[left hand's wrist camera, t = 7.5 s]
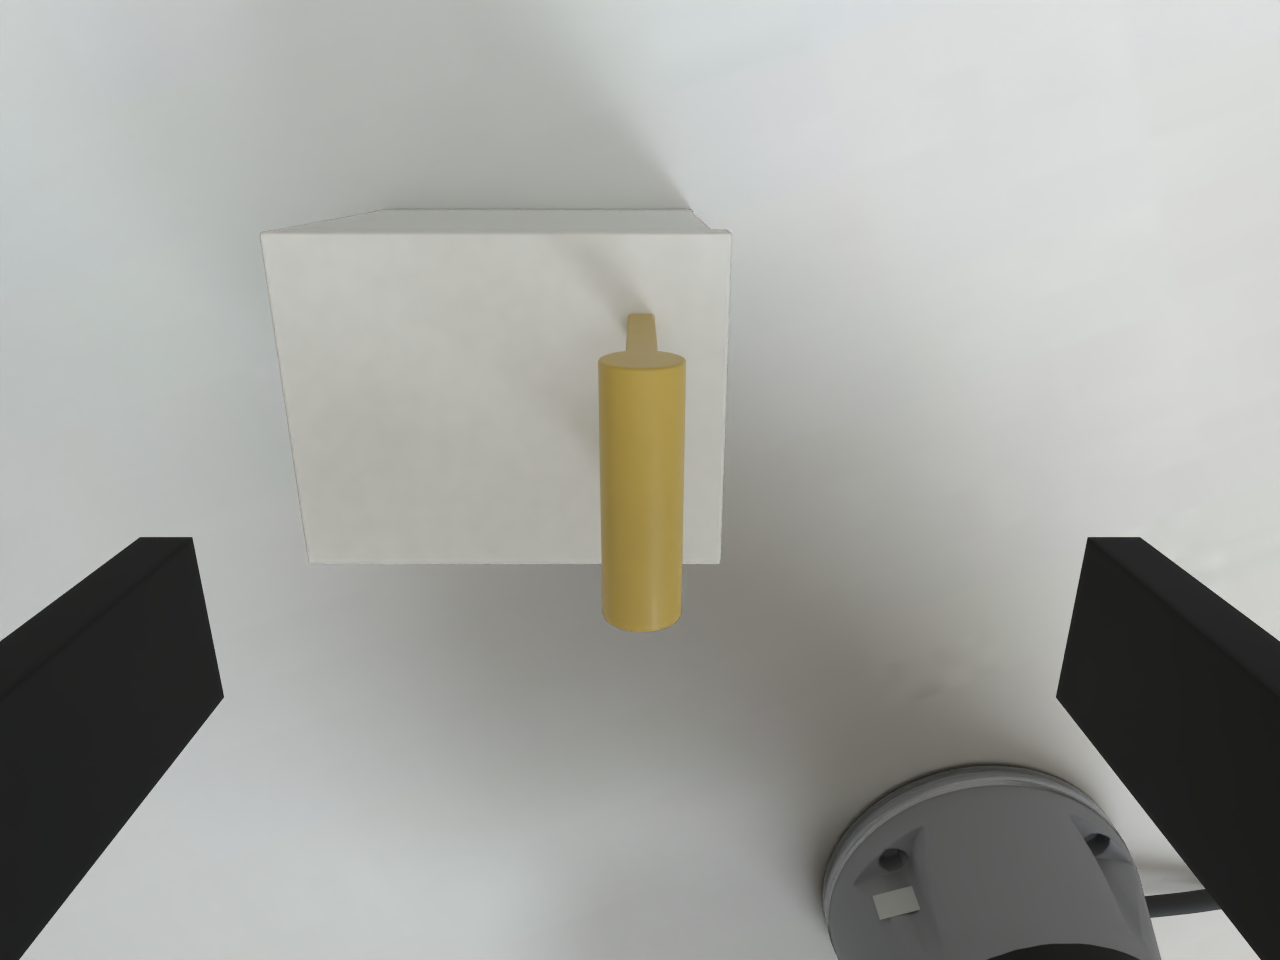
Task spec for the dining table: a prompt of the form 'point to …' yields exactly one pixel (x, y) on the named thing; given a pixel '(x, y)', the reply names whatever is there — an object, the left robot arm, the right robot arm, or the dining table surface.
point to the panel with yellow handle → (509, 399)
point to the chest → (513, 220)
